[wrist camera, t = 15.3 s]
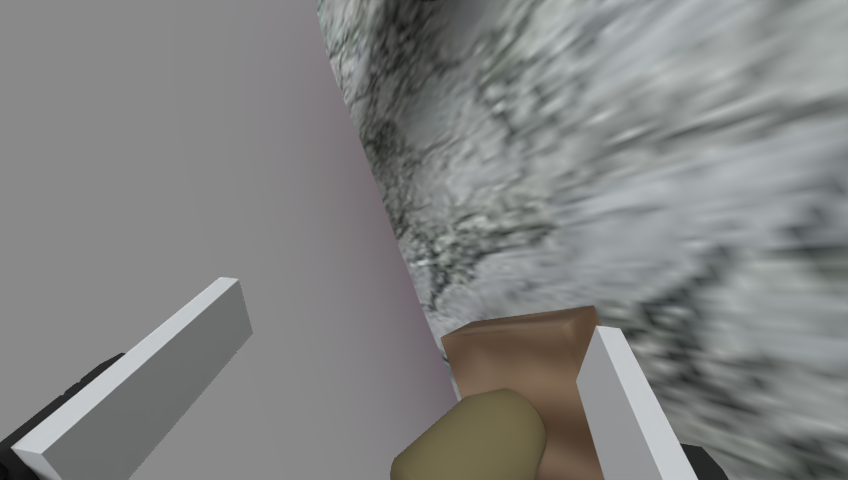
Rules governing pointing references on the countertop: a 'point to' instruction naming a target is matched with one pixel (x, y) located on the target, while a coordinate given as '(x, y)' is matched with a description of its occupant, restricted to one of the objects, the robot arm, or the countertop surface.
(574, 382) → the walnut plinth
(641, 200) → the countertop surface
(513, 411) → the squeeze bottle
